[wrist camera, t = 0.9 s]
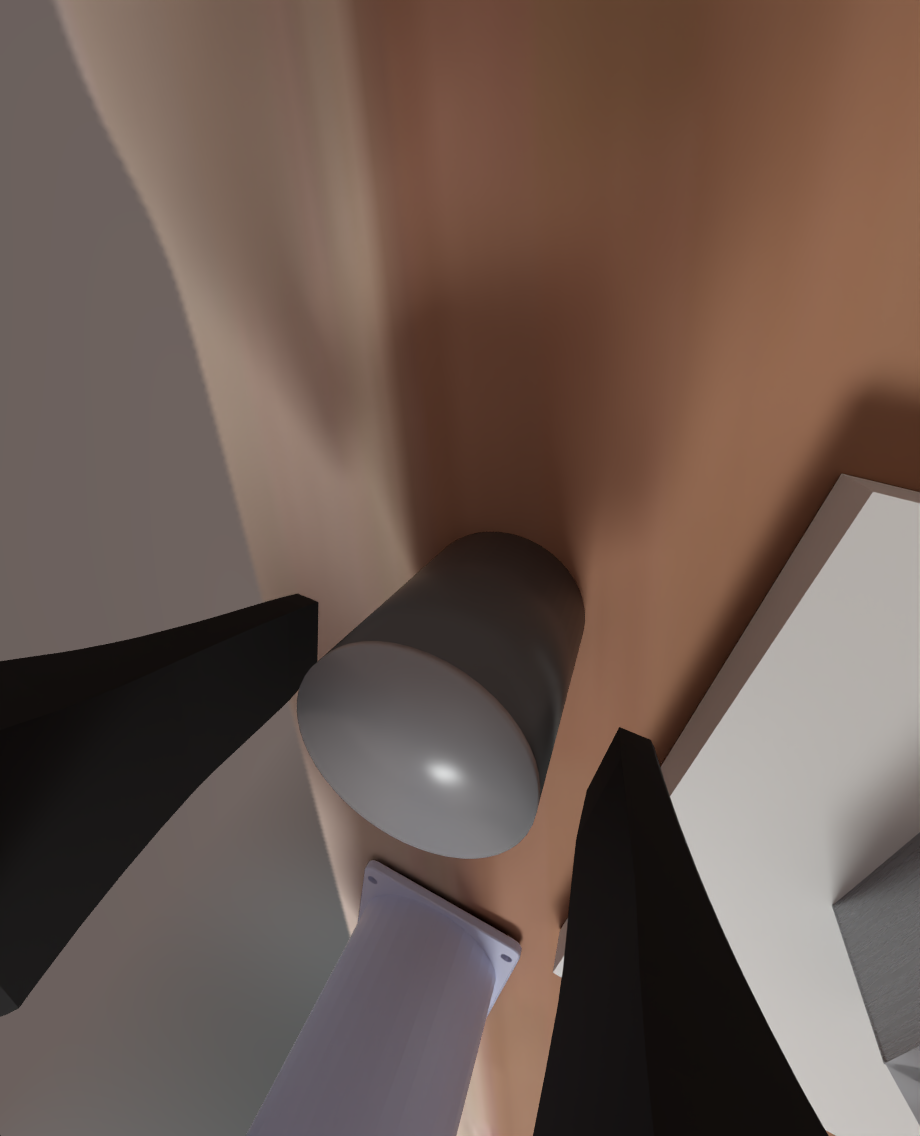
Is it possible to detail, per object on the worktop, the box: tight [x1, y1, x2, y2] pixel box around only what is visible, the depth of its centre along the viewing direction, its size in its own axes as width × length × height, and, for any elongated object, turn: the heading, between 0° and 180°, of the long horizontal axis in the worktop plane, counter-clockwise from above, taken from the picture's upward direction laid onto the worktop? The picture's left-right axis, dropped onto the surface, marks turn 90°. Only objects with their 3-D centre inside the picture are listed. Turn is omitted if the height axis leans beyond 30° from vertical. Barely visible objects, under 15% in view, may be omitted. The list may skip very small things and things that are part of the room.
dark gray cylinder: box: [297, 532, 585, 859], centre depth 11 cm, size 5×5×6 cm
